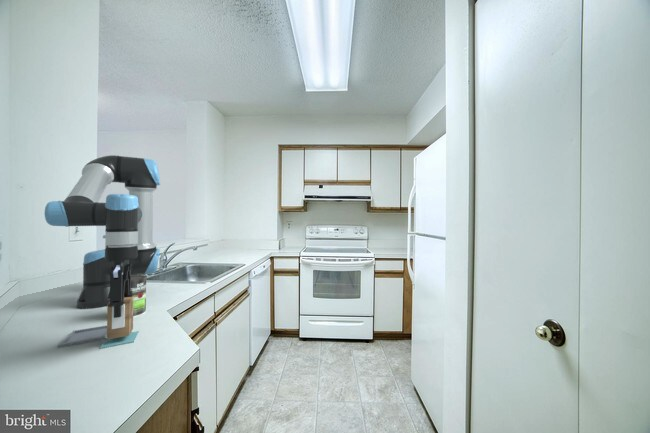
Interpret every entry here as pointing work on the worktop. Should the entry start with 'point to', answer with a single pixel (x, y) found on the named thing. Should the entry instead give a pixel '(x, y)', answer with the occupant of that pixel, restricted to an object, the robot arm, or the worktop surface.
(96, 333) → the gray tray
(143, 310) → the coffee can
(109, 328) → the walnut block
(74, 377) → the worktop surface
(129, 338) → the teal pad
